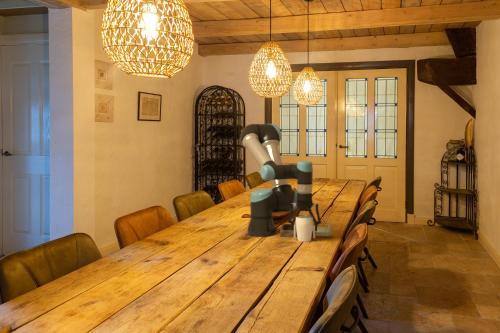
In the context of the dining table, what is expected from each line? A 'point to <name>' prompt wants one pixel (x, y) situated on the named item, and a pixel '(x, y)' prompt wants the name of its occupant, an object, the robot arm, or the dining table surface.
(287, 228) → the dock
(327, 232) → the tray
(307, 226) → the cup
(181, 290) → the dining table surface
